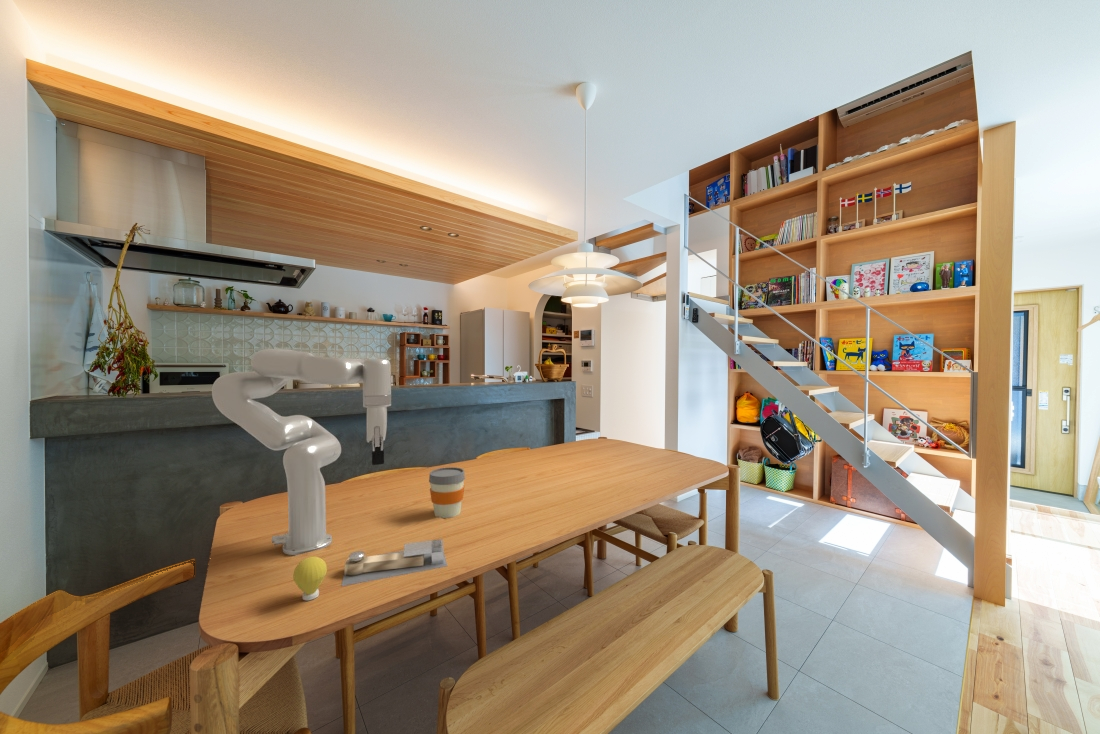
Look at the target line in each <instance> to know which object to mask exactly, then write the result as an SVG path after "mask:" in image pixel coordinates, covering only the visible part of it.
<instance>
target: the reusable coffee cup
mask: <svg viewBox="0 0 1100 734" xmlns="http://www.w3.org/2000/svg"><path fill="white" fill-rule="evenodd" d="M428 477H429V479H428V482H429V483H430V487H429V493H430V499H431V503H432V505H433V511H434V516H435V517H436V518H441V519H449V518H450V519H451V518H454V517H457V516H458V515H460V514H461V510H462V509H461V508H462V500H463V499H464V494H465V493H464V491H465V483H464V482H465V480H466V477H465V470H464V468H461V467H454V466H452V467H451V466H450V467H440V468H436V469H434V470H431V471H430V472H429V476H428Z"/></svg>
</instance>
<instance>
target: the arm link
mask: <svg viewBox="0 0 1100 734" xmlns="http://www.w3.org/2000/svg"><path fill="white" fill-rule="evenodd" d="M383 554H384V555H380V554H376V555H375V556H374V555H369V556H368V555H367V556H366V555H364V557H362V560H361V561H358V562H352V561H351V560H350V559H349V557H348V558H347V559H346V560H345V564H344V572H345V575H358V574H361V573H364V572H372V571H381V570H389V569H397V568H406V567H414V566H423V565H424V554H421V555H414V556H406V557H404V552H402V553H393V554H386V553H383Z"/></svg>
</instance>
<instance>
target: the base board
mask: <svg viewBox="0 0 1100 734" xmlns="http://www.w3.org/2000/svg"><path fill="white" fill-rule="evenodd" d="M402 552H404V550H399V551H393V552H388V553H386V552H385V553H382V554H381V553H380V554H379V555H384V554H393V553H402ZM373 556H375V555H373ZM445 567H448V563H447V560H446V555H445V551H444V550H443V563H442V564H435V565H432V553H428V554H424V565H423V566H414V567H406V568H397V569H389V570H381V571H372V572H364V573H361V574H358V575H345V571H344V572H343V577H342V582H341V586H340V587H345V586H346V587H347V586H350V585H356V584H362V583H367V582H373V581H377V580H381V579H387V578H393V577H398V576H404V575H408V574H409V575H410V574H414V573H419V572H423V571H424V572H425V571H429V570H435V569H440V568H445Z"/></svg>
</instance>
